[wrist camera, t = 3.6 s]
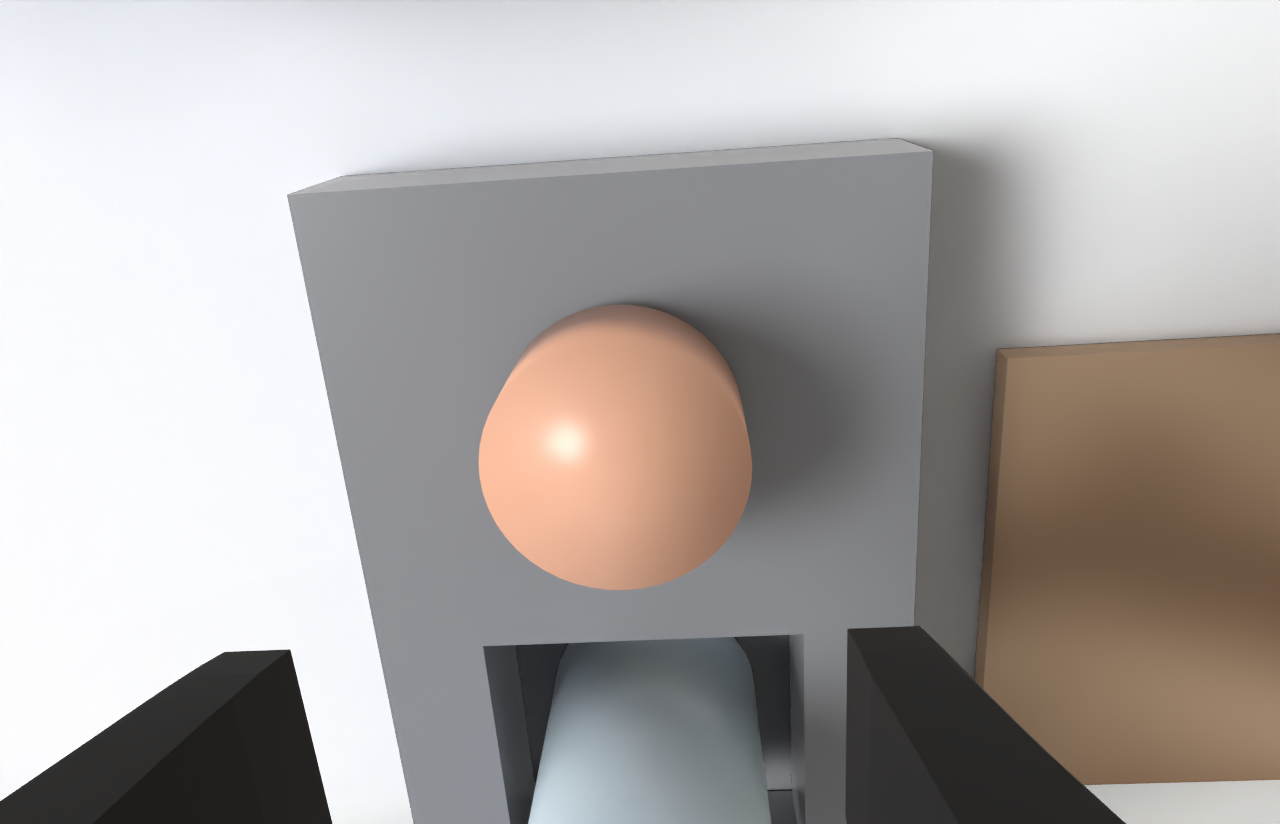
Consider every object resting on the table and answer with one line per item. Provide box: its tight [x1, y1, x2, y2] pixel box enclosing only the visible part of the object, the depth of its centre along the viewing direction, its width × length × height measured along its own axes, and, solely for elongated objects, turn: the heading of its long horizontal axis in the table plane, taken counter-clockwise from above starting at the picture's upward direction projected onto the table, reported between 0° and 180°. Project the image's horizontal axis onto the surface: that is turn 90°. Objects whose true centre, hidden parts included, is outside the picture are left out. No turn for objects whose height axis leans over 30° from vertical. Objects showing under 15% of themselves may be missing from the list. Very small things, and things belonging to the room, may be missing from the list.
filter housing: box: [287, 138, 933, 824], centre depth 18 cm, size 16×10×2 cm, turn 4°
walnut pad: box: [974, 334, 1280, 785], centre depth 19 cm, size 10×8×1 cm
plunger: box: [478, 305, 752, 590], centre depth 14 cm, size 4×4×2 cm
